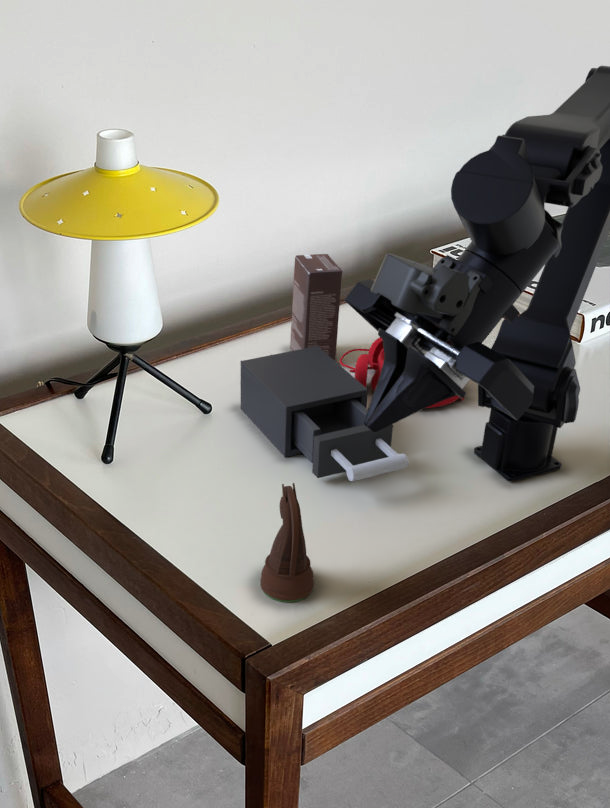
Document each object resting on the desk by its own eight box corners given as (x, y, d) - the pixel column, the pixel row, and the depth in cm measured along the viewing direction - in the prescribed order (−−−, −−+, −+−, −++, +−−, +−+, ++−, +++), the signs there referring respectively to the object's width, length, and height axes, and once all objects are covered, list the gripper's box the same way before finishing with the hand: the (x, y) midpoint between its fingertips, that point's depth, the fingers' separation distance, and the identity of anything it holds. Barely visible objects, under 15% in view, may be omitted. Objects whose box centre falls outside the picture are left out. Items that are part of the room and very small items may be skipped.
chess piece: (307, 566, 89) (311, 471, 84) (320, 603, 85) (325, 505, 80) (256, 572, 89) (257, 476, 83) (266, 609, 85) (268, 510, 79)
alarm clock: (459, 391, 108) (335, 335, 112) (440, 437, 112) (321, 382, 116) (487, 353, 116) (371, 302, 120) (469, 398, 120) (356, 347, 124)
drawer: (415, 485, 99) (419, 448, 96) (341, 504, 96) (344, 466, 94) (340, 414, 110) (342, 380, 108) (272, 430, 108) (273, 395, 105)
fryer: (364, 438, 108) (368, 389, 104) (284, 457, 105) (286, 407, 101) (315, 392, 116) (317, 345, 113) (240, 408, 113) (240, 360, 110)
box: (338, 365, 122) (343, 269, 115) (301, 369, 121) (305, 273, 114) (323, 344, 127) (328, 251, 120) (288, 348, 126) (291, 254, 119)
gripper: (369, 182, 82) (251, 337, 84) (527, 254, 68) (381, 437, 71) (438, 257, 89) (328, 398, 92) (592, 336, 76) (459, 499, 78)
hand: (368, 428), depth 83 cm, fingers closed
